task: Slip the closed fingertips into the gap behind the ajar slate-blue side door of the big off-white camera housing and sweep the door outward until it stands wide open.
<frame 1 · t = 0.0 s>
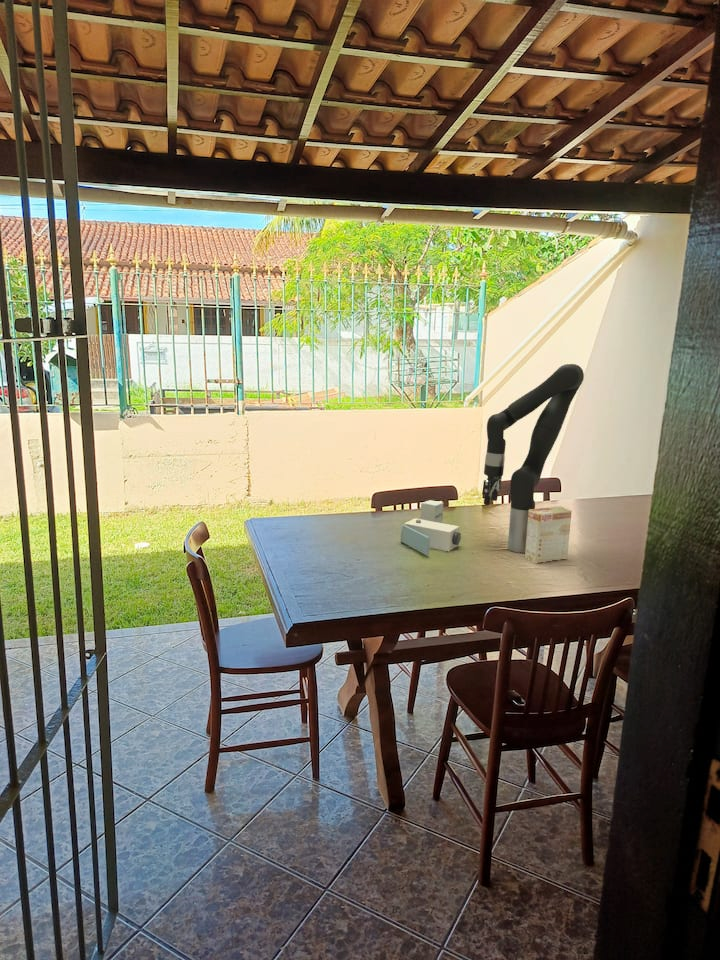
hand: (490, 502, 252), 17 cm above the table, tool pointing down, fingers open, 8 cm apart
supplement box: (431, 530, 271), on the table
camera housing: (430, 543, 253), on the table
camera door: (414, 539, 245), point 4 cm above the table, hinge at 30.0°
coffeecake box: (545, 559, 239), on the table
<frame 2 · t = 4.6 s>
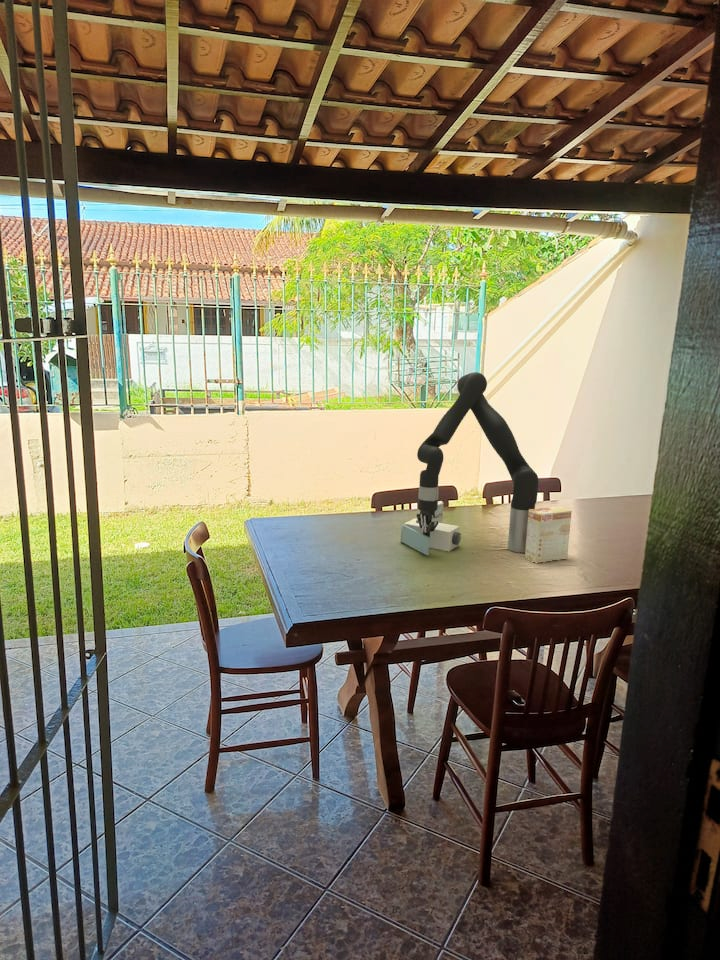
hand: (426, 540, 241), 5 cm above the table, tool pointing down, fingers closed
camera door: (414, 539, 245), point 4 cm above the table, hinge at 30.0°, touching gripper
everything else where it was.
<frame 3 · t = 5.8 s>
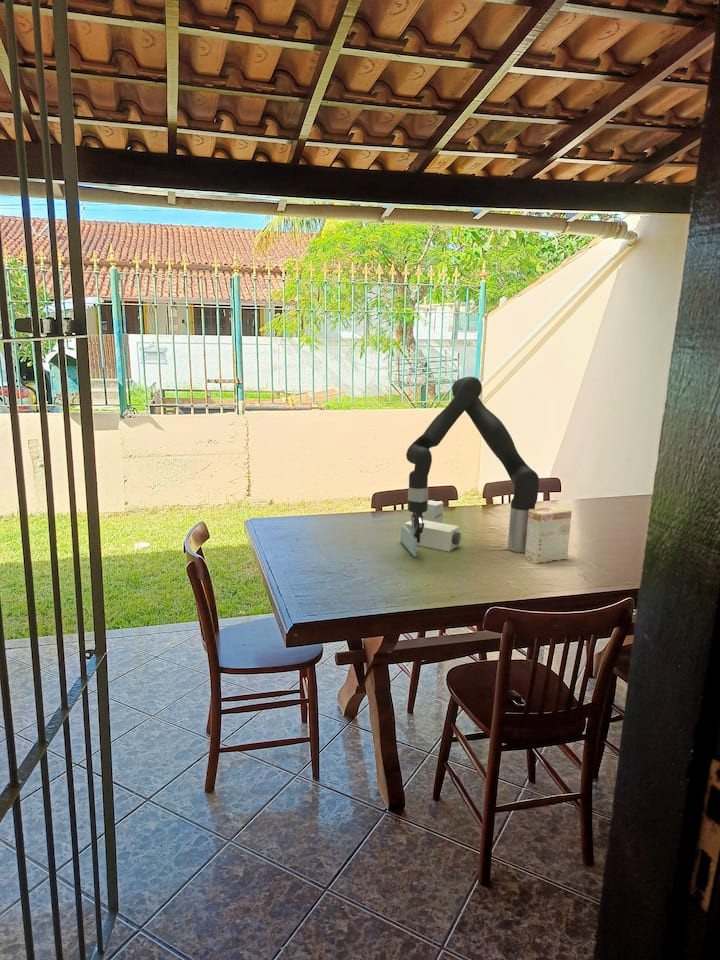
hand: (416, 542, 239), 5 cm above the table, tool pointing down, fingers closed
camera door: (408, 539, 244), point 4 cm above the table, hinge at 46.5°, touching gripper
everything else where it was.
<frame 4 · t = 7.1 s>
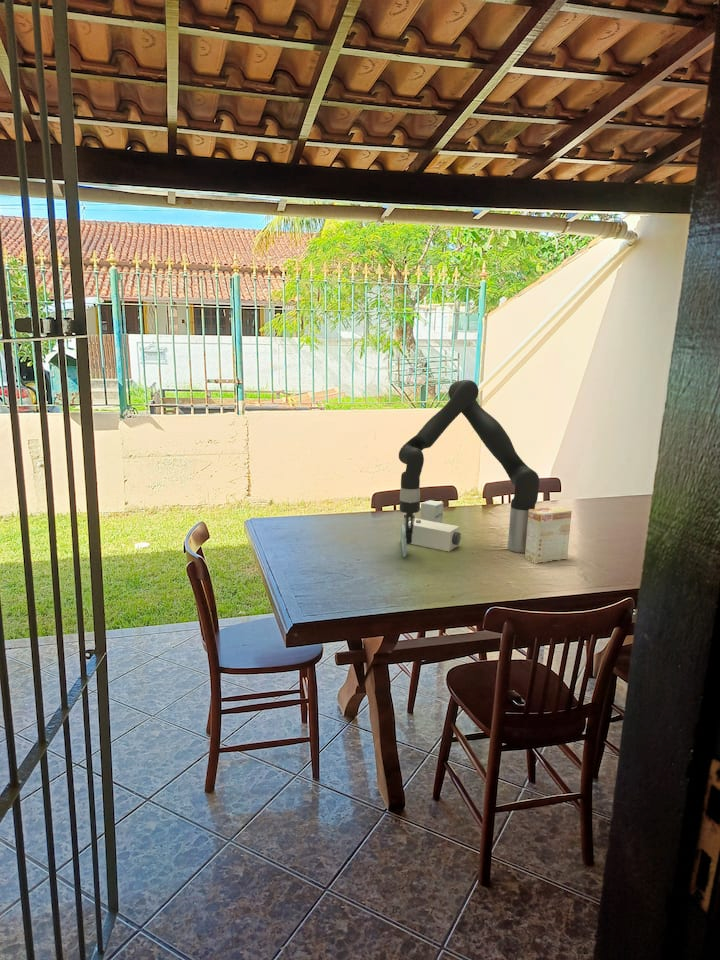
hand: (408, 542, 238), 5 cm above the table, tool pointing down, fingers closed
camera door: (403, 539, 244), point 4 cm above the table, hinge at 58.9°, touching gripper
everything else where it was.
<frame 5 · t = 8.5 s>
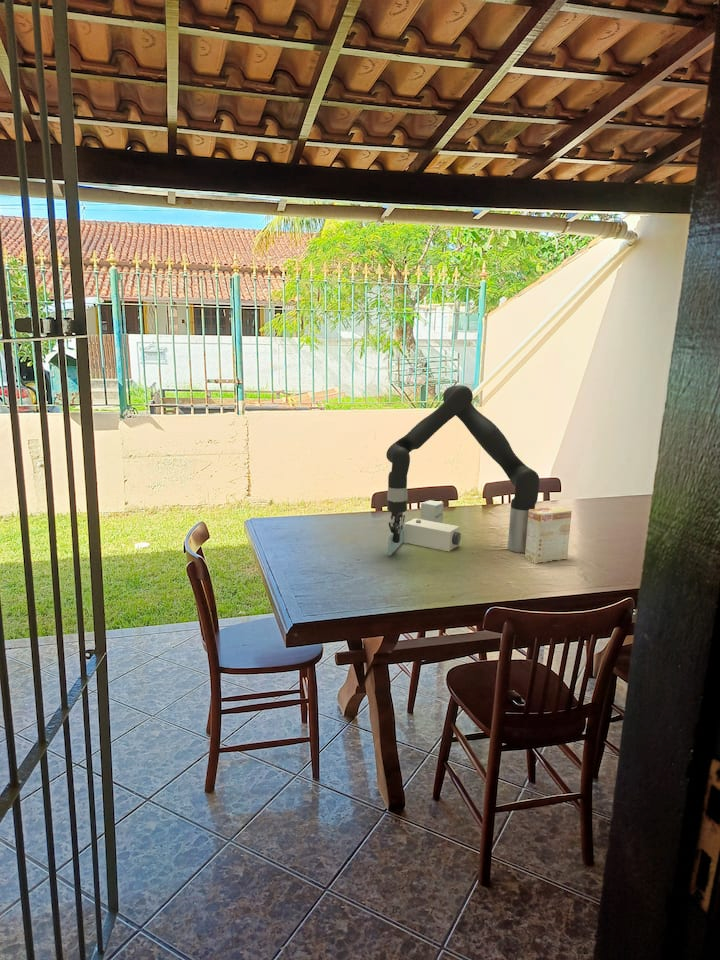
hand: (396, 542, 239), 5 cm above the table, tool pointing down, fingers closed
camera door: (396, 539, 245), point 4 cm above the table, hinge at 76.9°, touching gripper
everything else where it was.
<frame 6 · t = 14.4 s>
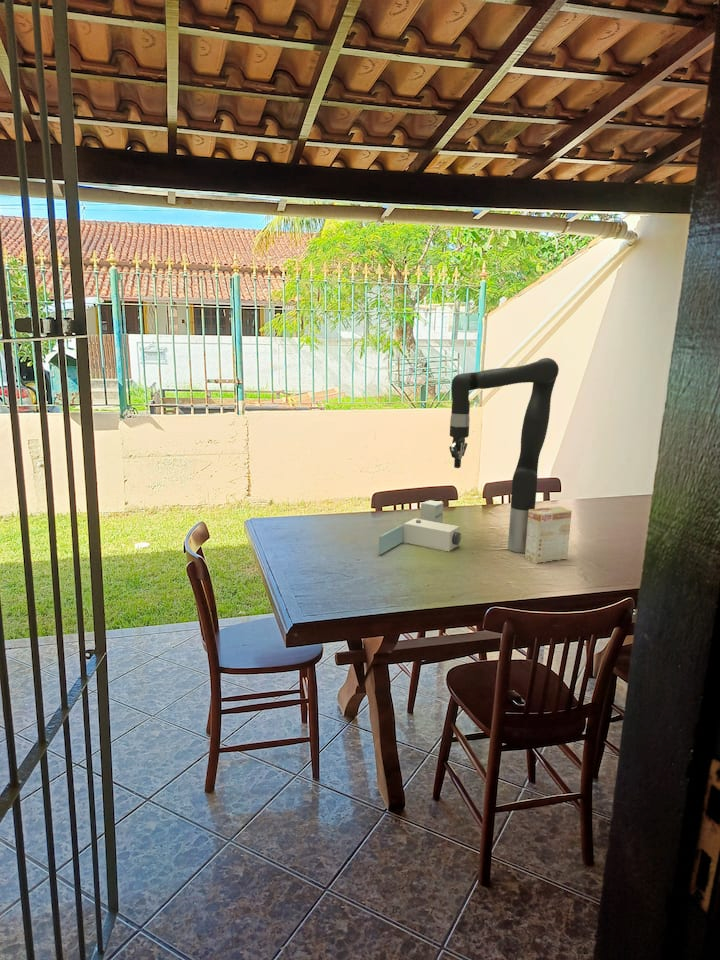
hand: (457, 467, 251), 31 cm above the table, tool pointing down, fingers closed
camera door: (392, 538, 245), point 4 cm above the table, hinge at 88.5°
everything else where it was.
at the end: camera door at +88° (first picture: +30°) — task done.
